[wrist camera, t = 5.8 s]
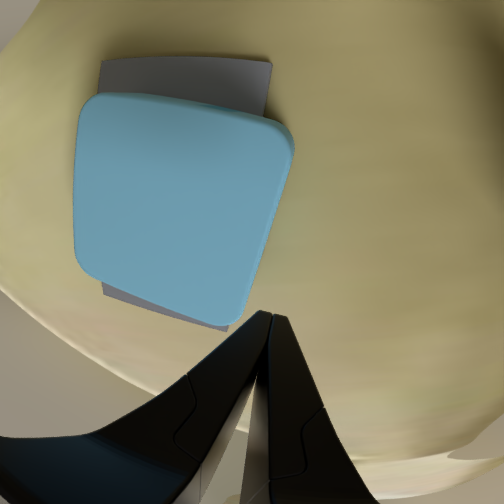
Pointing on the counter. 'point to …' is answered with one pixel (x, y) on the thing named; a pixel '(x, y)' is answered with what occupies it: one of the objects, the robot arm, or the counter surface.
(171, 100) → the light blue flat block
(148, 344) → the counter surface
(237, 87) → the mat
